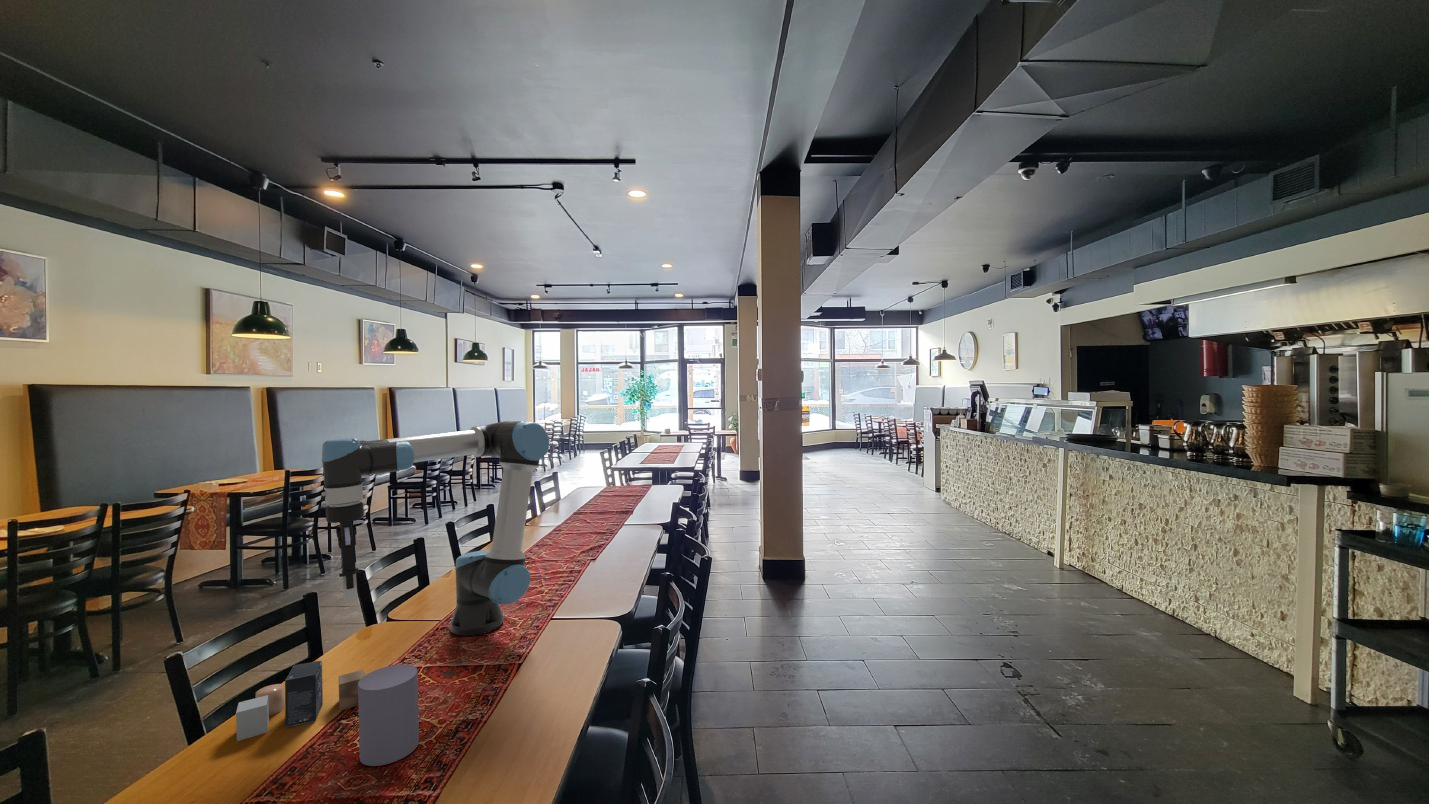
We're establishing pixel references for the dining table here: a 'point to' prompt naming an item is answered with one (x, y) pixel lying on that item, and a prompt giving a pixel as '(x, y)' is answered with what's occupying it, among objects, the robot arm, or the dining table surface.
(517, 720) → the dining table surface
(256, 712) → the slate block
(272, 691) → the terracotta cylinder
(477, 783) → the dining table surface
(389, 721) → the container
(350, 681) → the walnut block
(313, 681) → the box
